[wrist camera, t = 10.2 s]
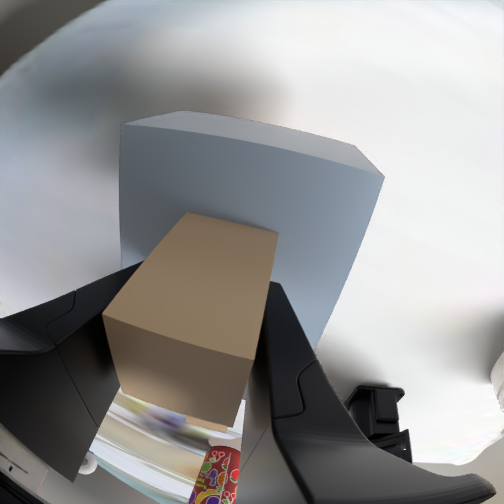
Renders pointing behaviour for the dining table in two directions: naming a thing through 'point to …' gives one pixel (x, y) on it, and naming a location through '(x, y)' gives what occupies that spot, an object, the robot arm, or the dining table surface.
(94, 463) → the donut
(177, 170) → the blue-grey and tan block
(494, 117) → the dining table surface
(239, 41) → the dining table surface
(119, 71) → the dining table surface
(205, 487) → the smoothie
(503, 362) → the honey pot
